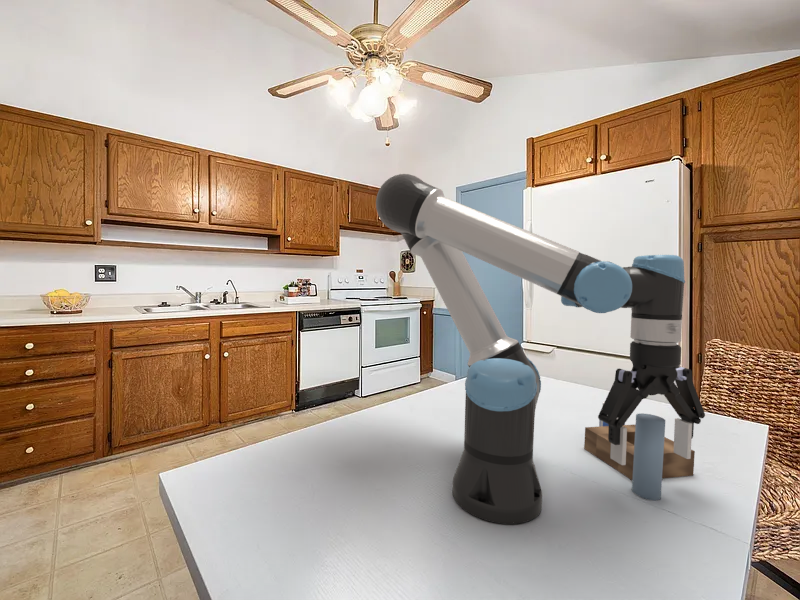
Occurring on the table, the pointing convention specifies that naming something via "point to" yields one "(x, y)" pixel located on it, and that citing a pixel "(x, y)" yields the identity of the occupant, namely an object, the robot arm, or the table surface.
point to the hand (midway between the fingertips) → (650, 458)
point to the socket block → (601, 448)
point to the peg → (648, 456)
